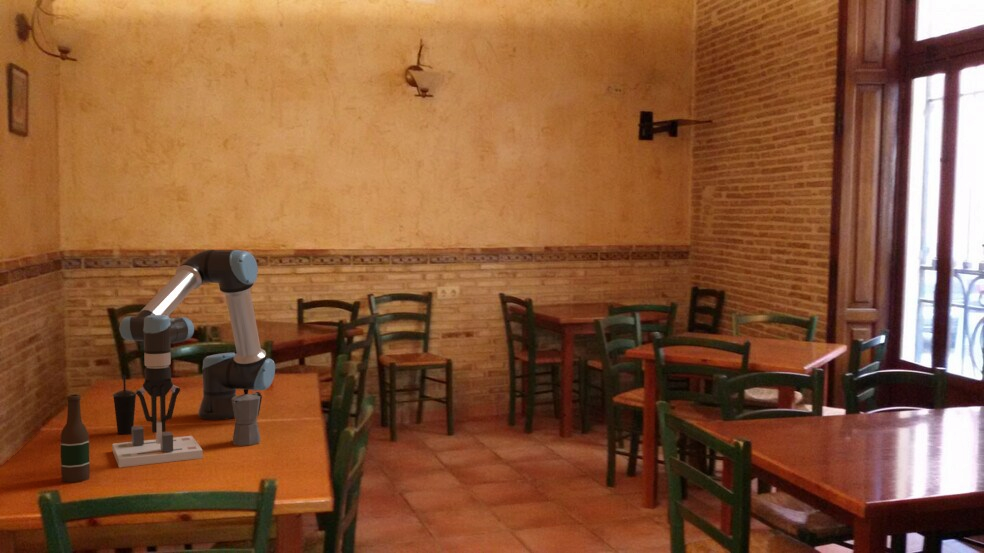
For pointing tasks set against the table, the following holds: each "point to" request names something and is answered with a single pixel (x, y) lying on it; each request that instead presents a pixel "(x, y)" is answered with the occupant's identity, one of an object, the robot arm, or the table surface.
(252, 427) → the coffeepot
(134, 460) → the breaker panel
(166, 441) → the lever
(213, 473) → the table surface
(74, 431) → the beer bottle
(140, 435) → the on lever
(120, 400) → the drinking cup
